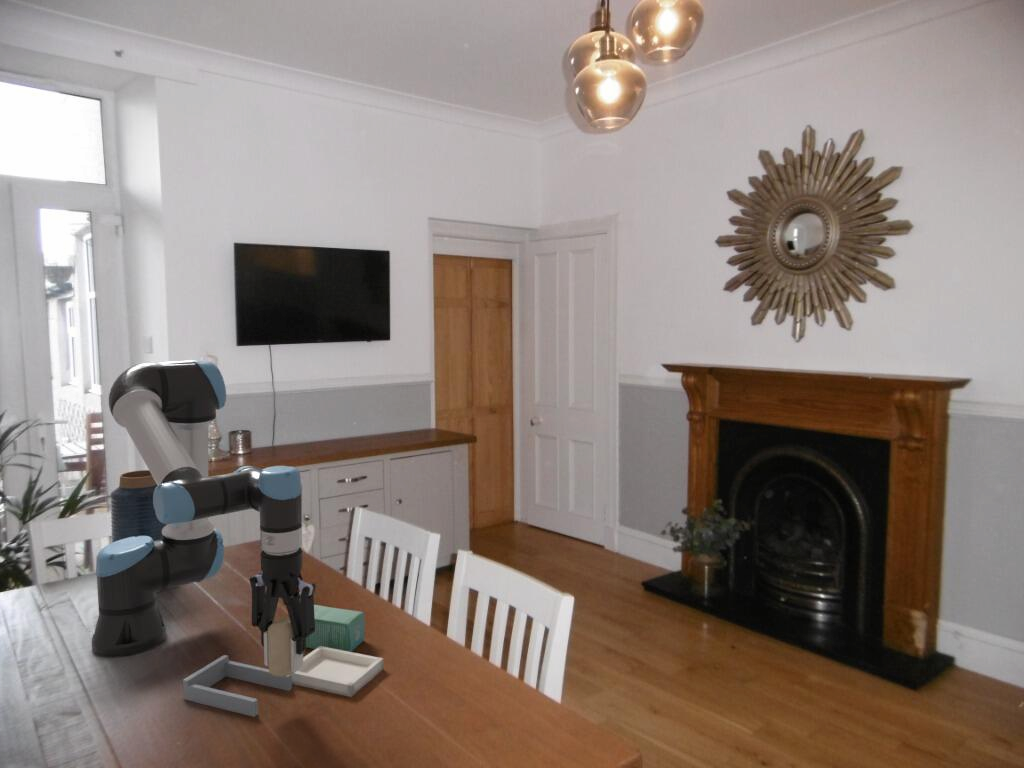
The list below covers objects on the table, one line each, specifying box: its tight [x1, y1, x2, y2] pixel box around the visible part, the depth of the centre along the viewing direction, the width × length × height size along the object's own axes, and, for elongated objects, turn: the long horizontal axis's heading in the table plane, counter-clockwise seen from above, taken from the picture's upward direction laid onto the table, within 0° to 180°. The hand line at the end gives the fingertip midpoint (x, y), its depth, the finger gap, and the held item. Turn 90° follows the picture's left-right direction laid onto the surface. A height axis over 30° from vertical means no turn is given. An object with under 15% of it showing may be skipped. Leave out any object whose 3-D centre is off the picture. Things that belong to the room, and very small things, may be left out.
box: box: [306, 604, 366, 652], centre depth 165 cm, size 7×14×8 cm, turn 73°
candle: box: [268, 616, 295, 676], centre depth 138 cm, size 6×6×10 cm
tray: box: [292, 646, 384, 698], centre depth 150 cm, size 16×12×2 cm
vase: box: [110, 469, 167, 594], centre depth 198 cm, size 16×16×32 cm
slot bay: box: [182, 654, 293, 718], centre depth 143 cm, size 17×11×4 cm, turn 69°
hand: (283, 665), depth 139 cm, fingers closed on candle, 5 cm apart
